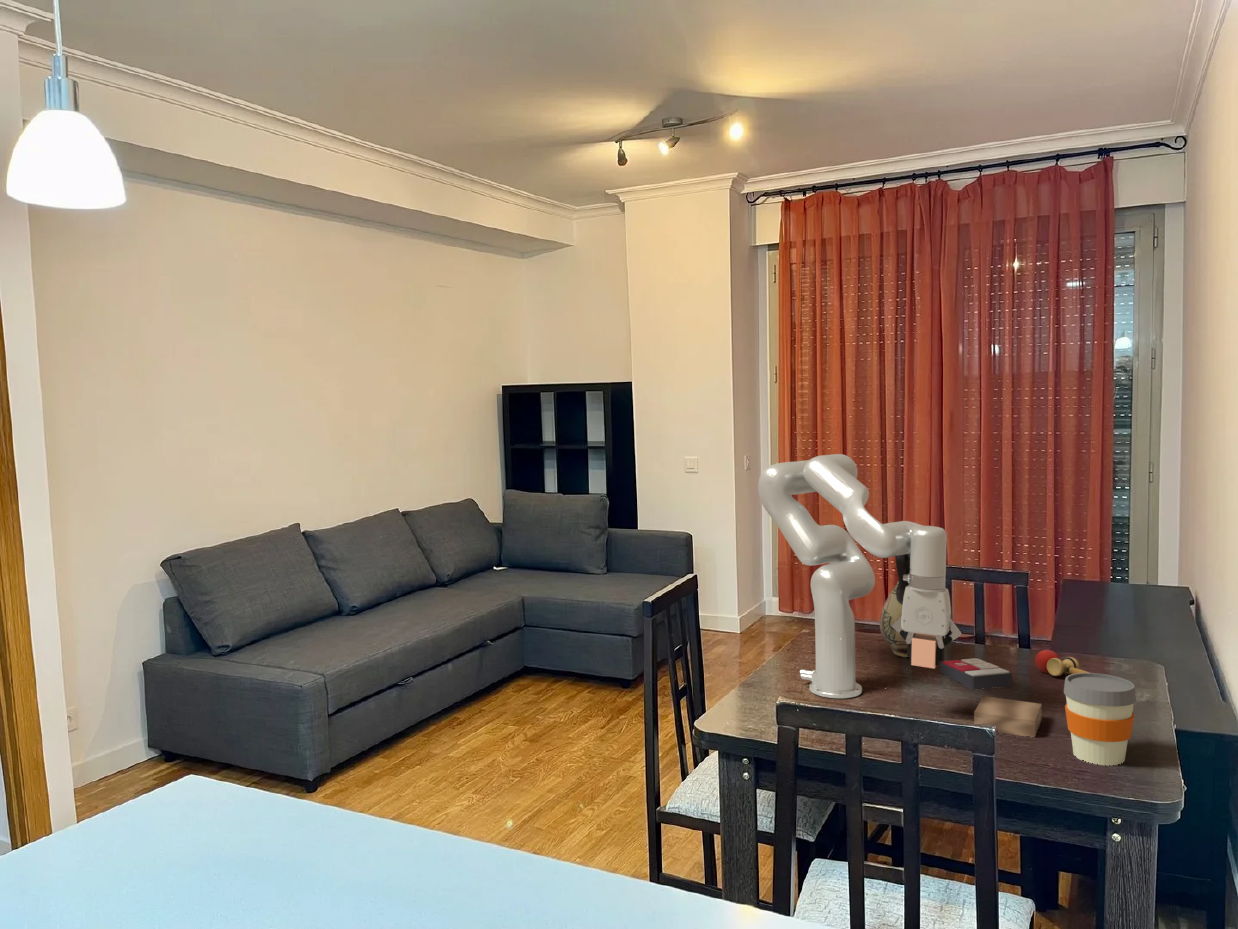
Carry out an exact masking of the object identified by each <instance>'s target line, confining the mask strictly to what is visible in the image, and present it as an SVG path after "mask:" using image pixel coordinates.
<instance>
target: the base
mask: <svg viewBox="0 0 1238 929" xmlns="http://www.w3.org/2000/svg"><path fill="white" fill-rule="evenodd" d="M1042 705H1043V704H1042V703H1037V702H1029V701H1023V700H1015V699H1010V698H1009V699H1007V698H1000V697H995V696H994V697H992V696H986V695H983V696H982V698H981V700H980V702H979V703H978V704H977V706H976V708H975V710H974V711H973V712H974V713H973V725H974V724H993V725H995V726H996V728H997V730H998V732H997V733H1000V734H1001V733H1002V734H1007V735H1014V736H1020V737H1021V736H1022V737H1026V736H1030V737H1029V738H1032V737H1035V736H1037V734H1036V733H1038V731H1039V728H1040V725H1041V722H1042V710H1043V708H1042V707H1043V706H1042ZM1037 730H1038V731H1037ZM1035 738H1036V737H1035Z"/></svg>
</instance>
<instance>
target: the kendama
mask: <svg viewBox="0 0 1238 929" xmlns="http://www.w3.org/2000/svg"><path fill="white" fill-rule="evenodd" d="M1034 663H1035V666H1036V668H1037V669H1038V670H1039V671H1040V672H1042V673H1044V674H1048V675H1051V676H1053V677H1059V676H1062V675H1065V676H1067V675H1071V674H1076V673H1091V672H1089V671H1087V670H1083V669H1081V668H1080V664H1079V661H1078V660H1077V659H1076V658H1075V657H1073V656H1066V657H1065V656H1064V657H1063V658H1062V660H1061V658H1060V655H1058V653H1056V652H1055V651H1054V650H1050V649H1044V650H1040V651H1039V652H1037V654H1036V656H1035V657H1034Z"/></svg>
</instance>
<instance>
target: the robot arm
mask: <svg viewBox="0 0 1238 929" xmlns="http://www.w3.org/2000/svg"><path fill="white" fill-rule="evenodd" d="M858 473H859V471H858V467H857V464H856V462H855V461H854V460H853V459H852V458H851V457H850V456H848V455H845V454H842V453H836V454H835V453H834V454H826V455H825V454H824V455H817V456H815V457H812V458H810V459H807V460H800V461H799V460H798V461H785V462H779V463H774V464H772V465H770V466H769V465H768V466H767V467H766V468H765V469H764V470H763V471H761V474H760V476H759V479H758V483H757V484H758V485H757V490H758V496H759V500H760V503H761V505H762V507H763V508H764V510H765V511H766V512H767V514H768V516H770V518H771V519H772V520H773V522H774V523H775V524H776V525H777V527H778V528H779V530H780V532H781V534H782V535H783V537H784V539H785V540H786V542H787V543H788V545H789V546H790V548H791V550H792V551H793V553H794V554H795V556H796V557H797V559H798V560H799V561H800V562H801V563H802V564H803V565H805V566H818V565H819V566H820V565H822V566H820V567H818V568H817V569H816V570H815V571H814V572H813V574H812V575H811V577H810V578H811V579H810V591H811V595H812V601H813V608H814V609H813V610H814V629H815V633H814V634H815V635H814V636H815V643H814V644H815V647H814V648H815V669H813V670H808V669H803V668H801V669H800V670H799V676H800V677H801V679H802V680H804V681H805V680H808V681H810V683H809V691H810V692H811V693H812V694H814V695H816V696H820V697H823V698H829V699H849V698H850V699H851V698H855V697H858V696H860V695H861V694H862V693H863V687H862V685H861V684H859V683H858V682H856V623H855V622H856V619H855V615H854V612H853V609H852V607H851V605H850V600H851V601H852V600H854V599H859V598H862V597H865V596H867V595H869V594H870V593H871V592H872V591H873V589H874V587H875V585H876V576H875V573H874V570H873V568H872V566H871V564H870V563H869V561H868V559H867V558H866V556H865V555H864V553H862V550H861V549H860V548H859V545H860V546H861V547H862V548H863V549H864V550H866V551H867V552H868V553H870V554H871V555H872V556H875V557H877V558H881V559H887V558H891V557H895V556H897V555H904V554H910V573H909V574H907V575H903V580H904V581H908V583H909V586H907V587H906V588H905V592H904V597H903V605H902V615H901V617H900V618H899V619H898V620H897V621H896V622H895V623H894V624H893V625H892V627H893V628H894V629H895V630H896V631H897V632H898V633H900V635H901V636H902V637H903V639H904V640H905V641H906V643H907V656H908V657H907V658H909V662H910V663H911V655H912V638H913V637H914V636H915V634H916V633H918V634H925V635H933V636H936V639H937V643H938V645H937V648H936V667H940V664H941V663H943V661H945V647H946V646H947V645H949V644H950V643H952V642H953V641H955V640H956V639H958V638H959V637H961V636H962V631H960V629H959V628H958V627H957V625H956V624H955V623H954V621H953V620H952V607H951V605H952V604H951V596H950V592H949V589H948V588H946V576H947V575H946V572H947V545H948V543H947V539H948V537H947V531H946V529H944V528H942V527H940V526H934V525H923V524H920V523H917V522H912V521H909V520H901V521H894V522H887V523H882V522H880V521H879V520H877V518H875V517H874V516H873V515H871V514H870V512H869V511H868V510H867V509H866V507H865V505H866V504H867V502H868V499H869V496H870V492H869V489H868V487H867V486H866V485H864V484H863V483H862V482H861V481H860V480H858V479H857V478H858ZM815 492H816V493H818V494H819V495H820V496H821V497H822V498H823V499H825V501H827V503H829V504H830V505H832V506H833V507H834V508H835V509H836V510H837V511H838V512H839V513H841V514H842V515H841V516H842V520H843V523H844V525H845V528H846V530H845V529H844V528H843V527H841V526H839V525H836V524H824V525H820V524H818V523H817V522H816V521H815V520H814V518H813V516H811V515H812V514H810V512H809V511H808V509H807V508H806V507H805V506H804V505H803V504H802V503H801V502H799V501H798V500H796V498H794V497H793V496H792V495H794V496H795V495H802V494H809V493H815ZM857 544H858V545H857ZM949 631H950V632H951V634H949ZM947 634H948V635H947Z"/></svg>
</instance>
